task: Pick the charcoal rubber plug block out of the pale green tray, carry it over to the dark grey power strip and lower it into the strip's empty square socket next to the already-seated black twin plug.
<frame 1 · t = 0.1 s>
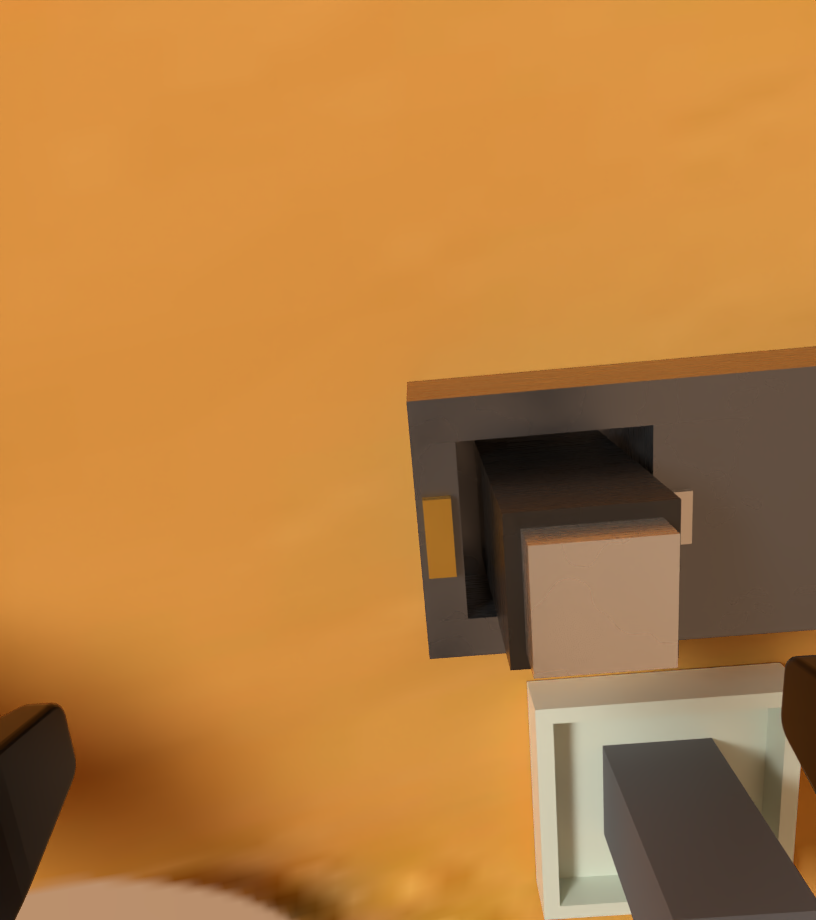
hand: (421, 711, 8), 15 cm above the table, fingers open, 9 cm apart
tray: (652, 777, 26), on the table
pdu: (714, 474, 23), on the table
plug: (656, 786, 25), resting on tray
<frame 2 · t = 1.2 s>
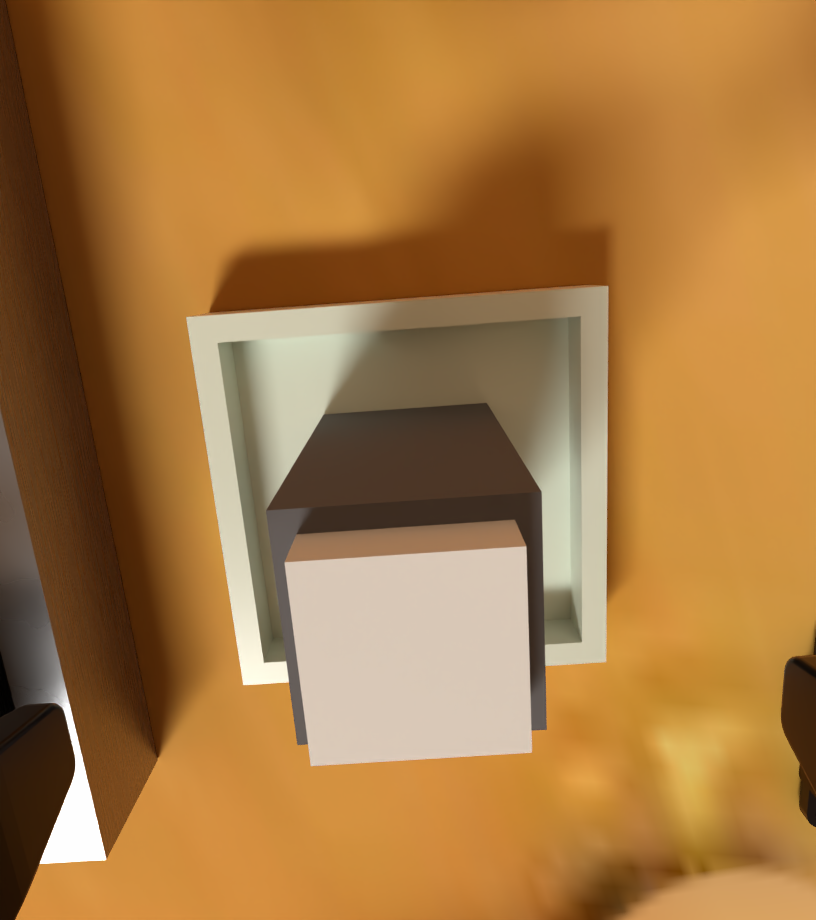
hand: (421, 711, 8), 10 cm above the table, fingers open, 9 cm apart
tray: (410, 480, 18), on the table
plug: (410, 486, 17), resting on tray
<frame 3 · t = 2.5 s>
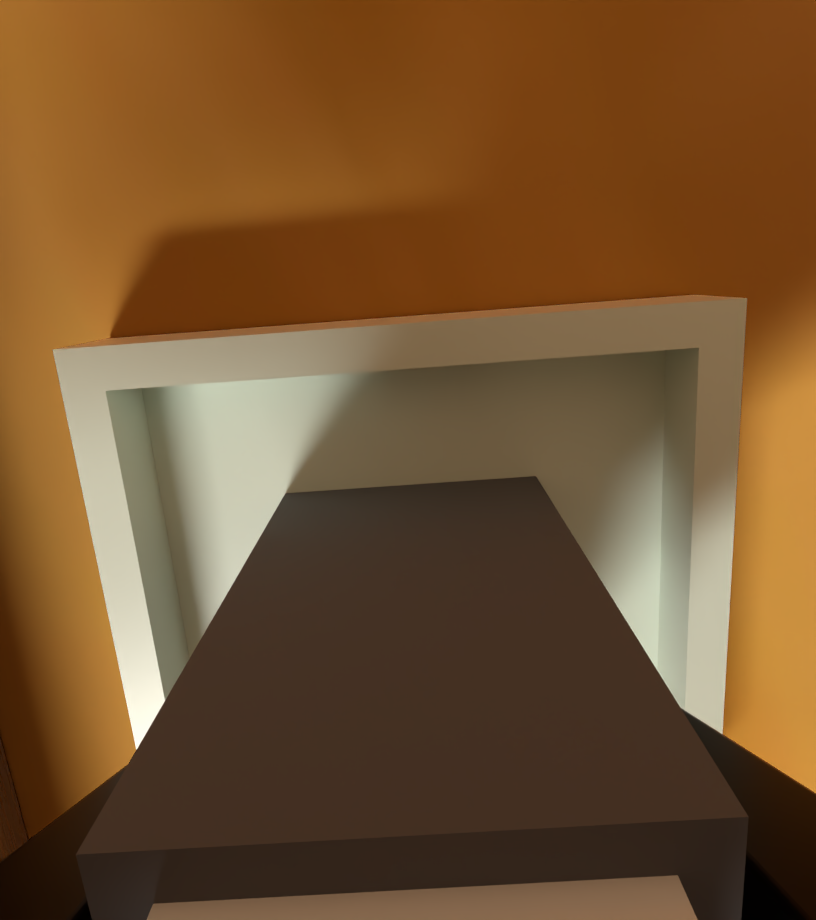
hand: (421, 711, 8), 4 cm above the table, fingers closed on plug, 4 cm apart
tray: (418, 585, 12), on the table
plug: (418, 598, 11), resting on tray, touching gripper
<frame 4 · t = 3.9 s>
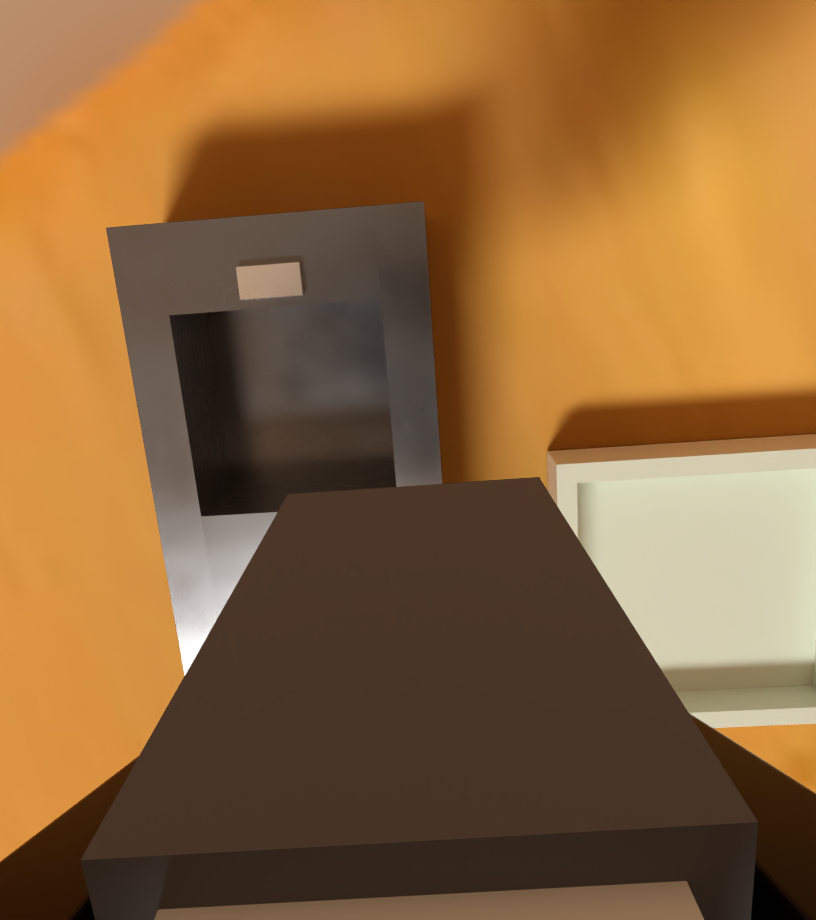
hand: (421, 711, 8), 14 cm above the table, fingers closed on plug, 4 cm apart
tray: (689, 576, 23), on the table
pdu: (326, 540, 23), on the table
plug: (421, 600, 11), point 11 cm above the table, touching gripper
when the fingers open (4 cm above the table, at t = 5.8 s): plug drops 1 cm, resting on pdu.
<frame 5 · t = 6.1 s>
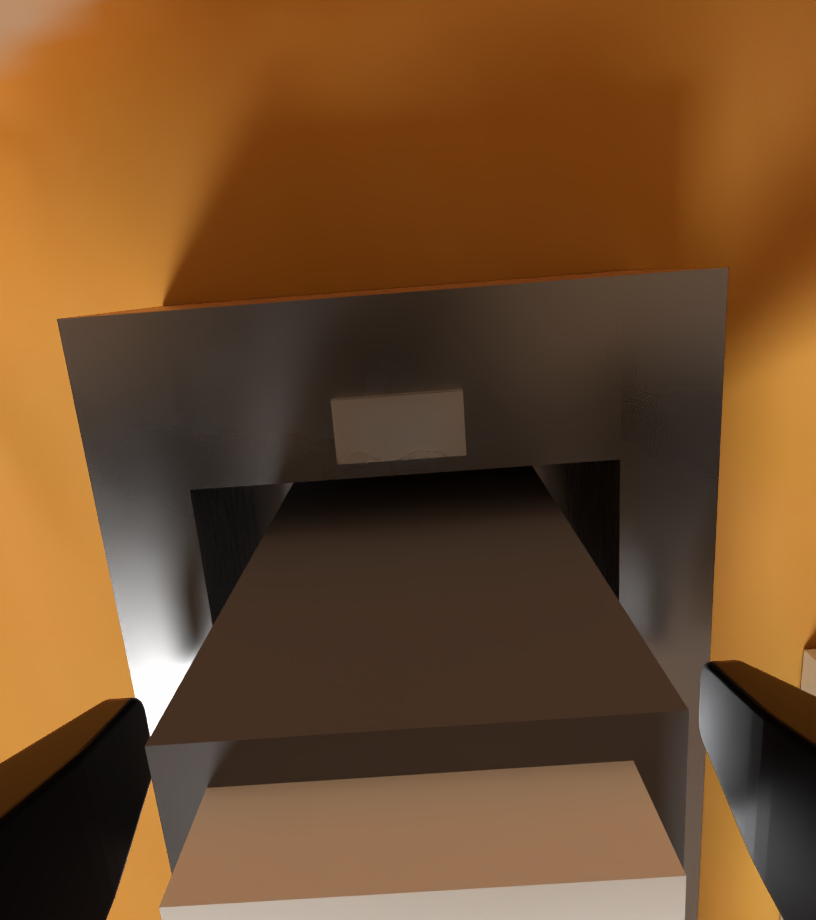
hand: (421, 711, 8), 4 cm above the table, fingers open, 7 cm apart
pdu: (433, 784, 14), on the table
plug: (420, 573, 12), resting on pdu
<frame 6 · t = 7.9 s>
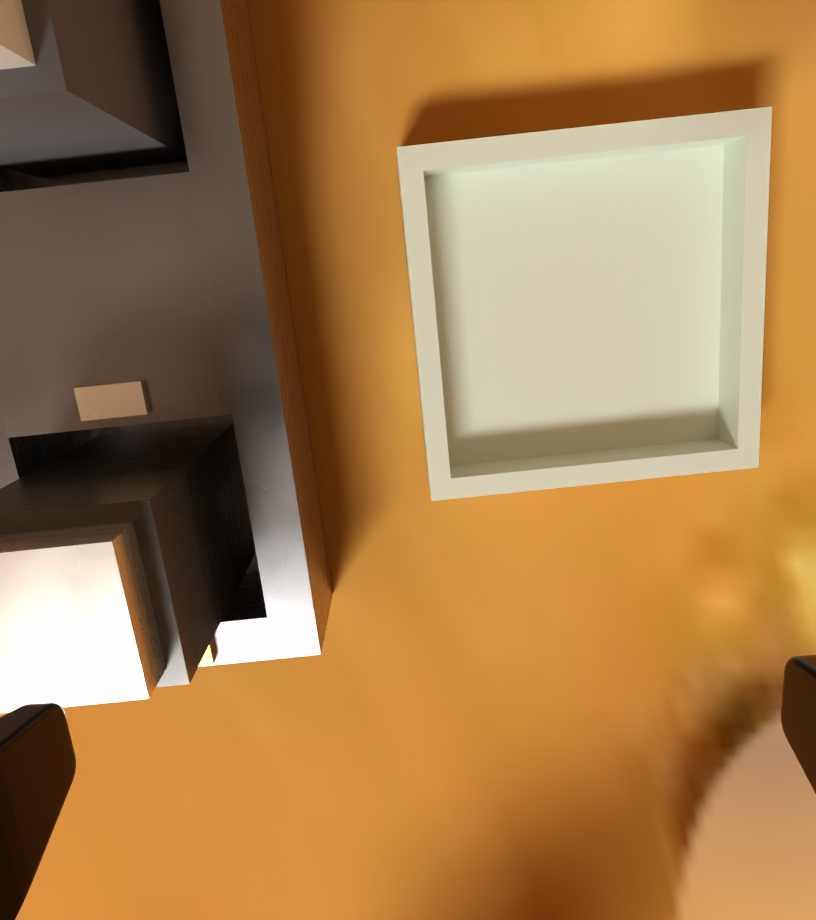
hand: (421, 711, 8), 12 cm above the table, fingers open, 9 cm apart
tray: (573, 314, 19), on the table
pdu: (144, 286, 19), on the table
plug: (99, 84, 17), resting on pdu
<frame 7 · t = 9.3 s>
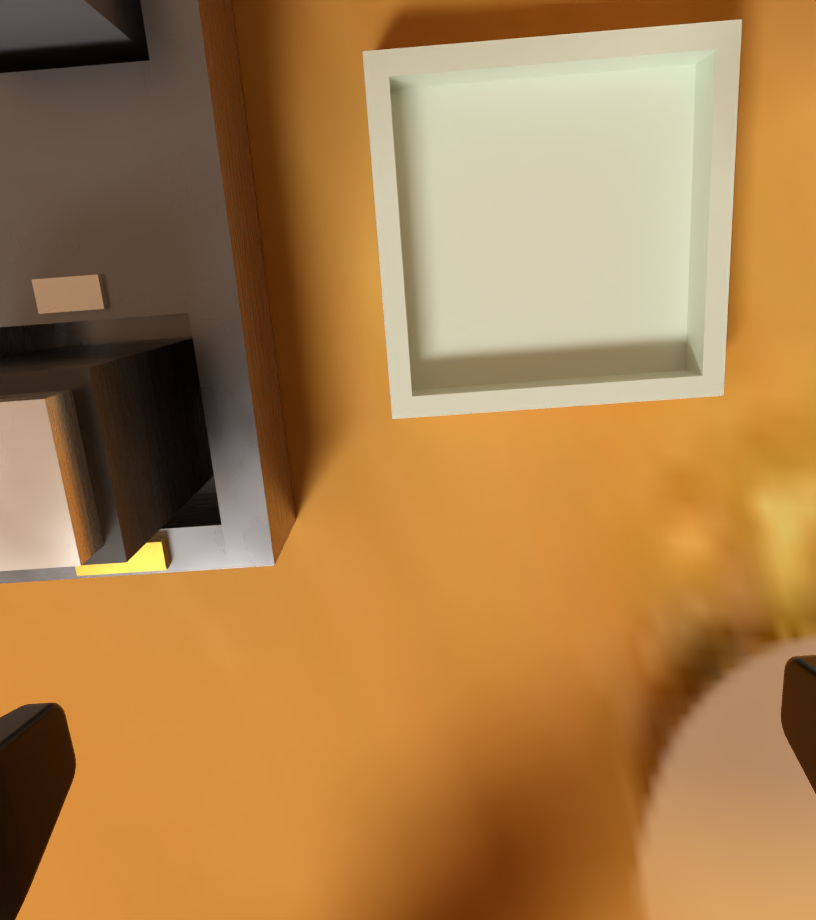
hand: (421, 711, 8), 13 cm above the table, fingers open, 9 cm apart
tray: (542, 237, 19), on the table
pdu: (113, 196, 19), on the table
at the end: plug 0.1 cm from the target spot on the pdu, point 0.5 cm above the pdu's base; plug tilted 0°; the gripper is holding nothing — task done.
